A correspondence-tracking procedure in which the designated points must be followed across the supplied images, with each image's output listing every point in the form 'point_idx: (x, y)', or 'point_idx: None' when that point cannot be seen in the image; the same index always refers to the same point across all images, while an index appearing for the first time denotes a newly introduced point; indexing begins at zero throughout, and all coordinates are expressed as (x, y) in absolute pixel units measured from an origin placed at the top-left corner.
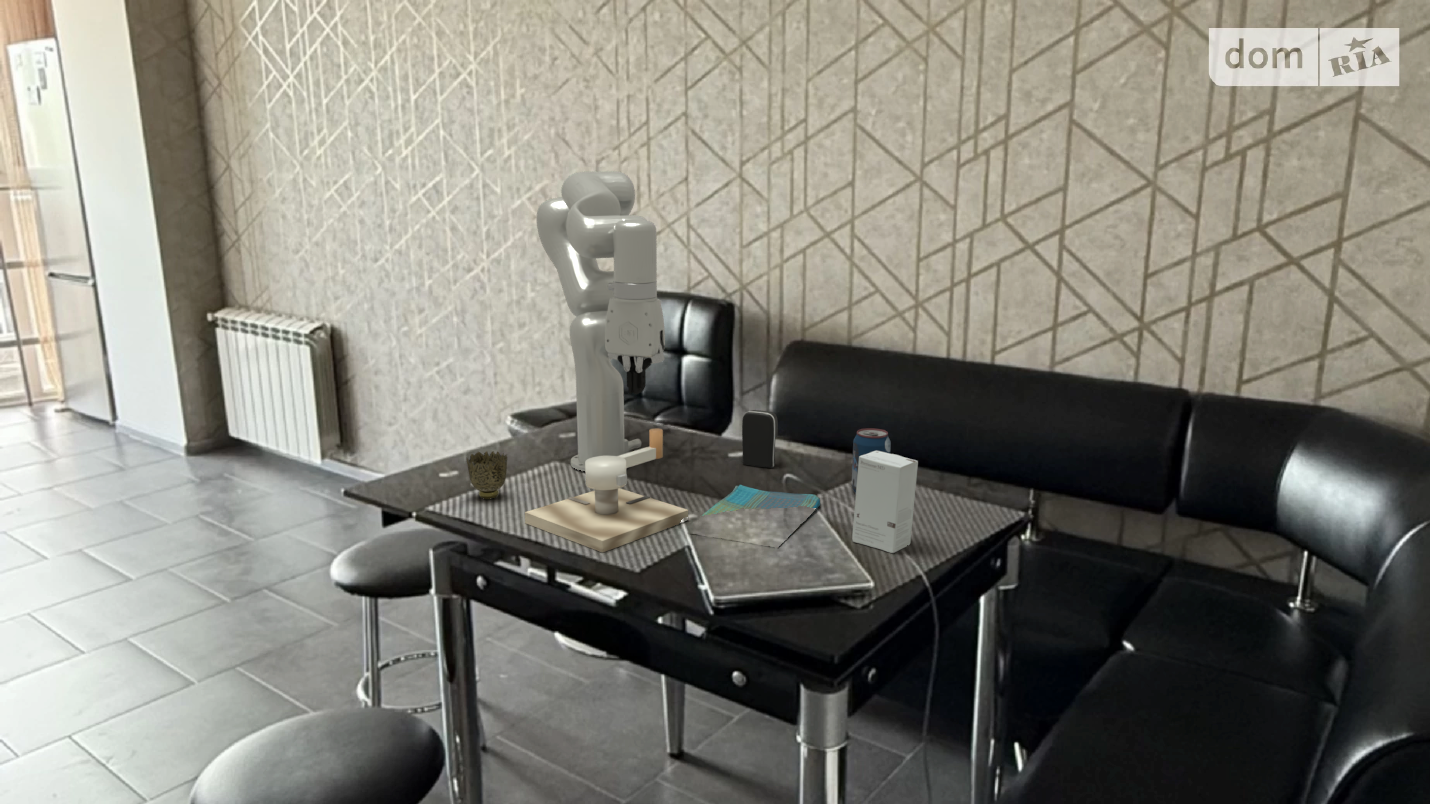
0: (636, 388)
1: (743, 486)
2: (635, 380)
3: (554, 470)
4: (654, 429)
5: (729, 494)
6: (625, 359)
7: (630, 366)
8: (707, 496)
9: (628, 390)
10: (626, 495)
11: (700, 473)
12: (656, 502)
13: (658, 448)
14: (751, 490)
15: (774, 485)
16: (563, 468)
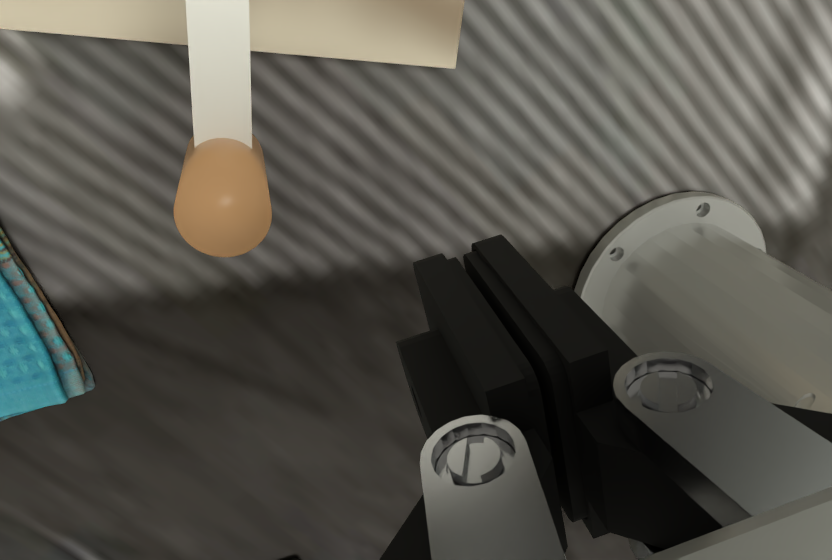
0: (425, 288)
1: (44, 401)
2: (460, 328)
3: (768, 145)
4: (245, 220)
5: (53, 331)
6: (787, 472)
7: (638, 439)
8: (147, 292)
9: (505, 240)
10: (311, 4)
11: (347, 430)
12: (130, 12)
13: (185, 159)
14: (3, 400)
15: (64, 508)
16: (752, 180)
